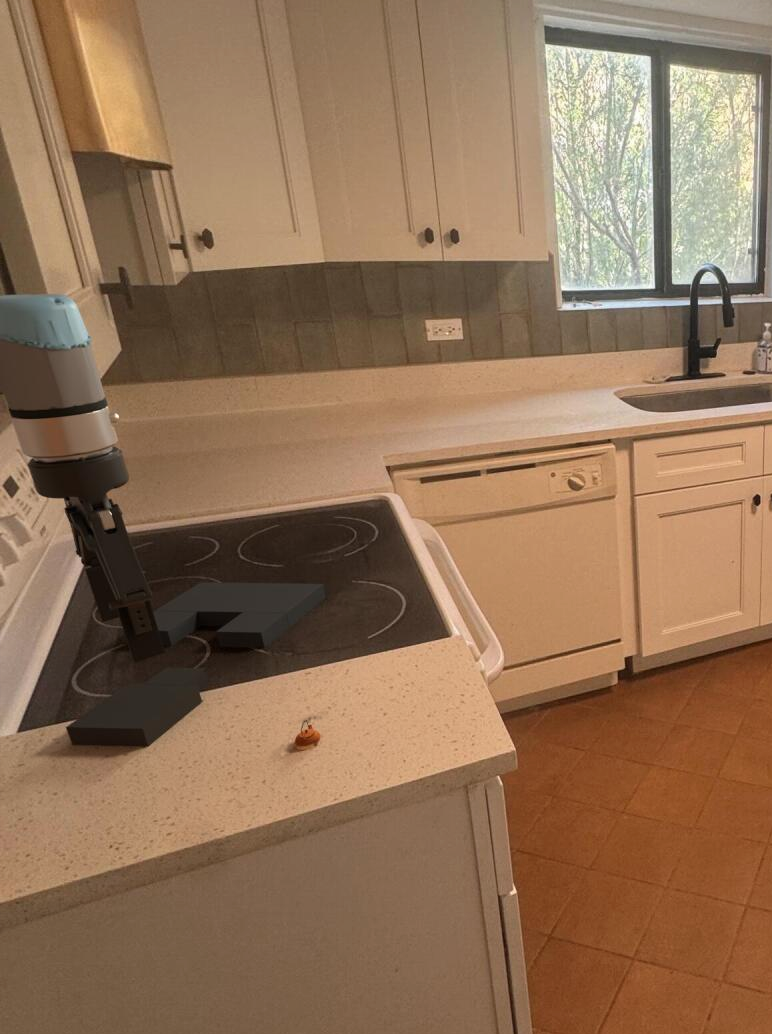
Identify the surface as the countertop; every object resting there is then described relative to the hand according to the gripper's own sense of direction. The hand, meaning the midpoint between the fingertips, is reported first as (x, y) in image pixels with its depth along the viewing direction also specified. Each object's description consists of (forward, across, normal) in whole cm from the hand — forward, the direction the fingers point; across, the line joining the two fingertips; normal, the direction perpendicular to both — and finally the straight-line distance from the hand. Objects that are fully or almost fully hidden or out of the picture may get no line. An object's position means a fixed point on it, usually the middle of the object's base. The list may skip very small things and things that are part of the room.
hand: (132, 636), depth 87 cm
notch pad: (+15, +26, -15) cm, 33 cm away
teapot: (+15, -12, -11) cm, 22 cm away
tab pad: (+15, +6, 0) cm, 16 cm away
